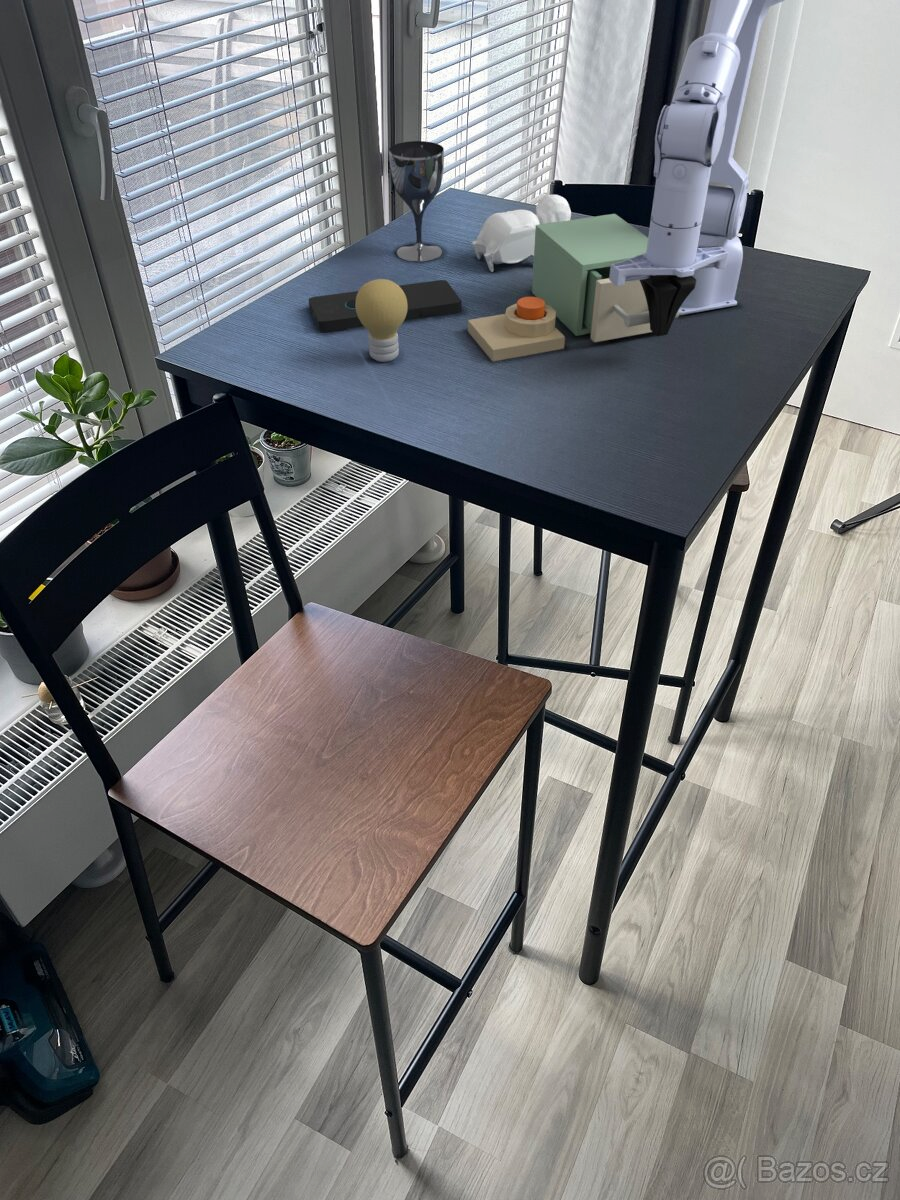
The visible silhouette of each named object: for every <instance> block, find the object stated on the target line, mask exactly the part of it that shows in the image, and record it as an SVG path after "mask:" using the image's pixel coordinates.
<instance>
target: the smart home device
mask: <svg viewBox="0 0 900 1200" xmlns="http://www.w3.org/2000/svg"><path fill="white" fill-rule="evenodd" d="M398 286H399V287H400V288H401V289H402V290H403V292H404V293H405V296H406V299H407V305H408V307H407V314H406V317H405V319H404V321H405V322H406V321H413V320H420V319H426V318H427V319H428V318H435V317H442V316H449V315H455V314H459V313H462V300H461V298H460V297H459V295H458V294H457V293H456V291H455V290H454V288H453V287H452V286H451V285H450V283H449V282H448V281H447V280H446V279H439V280H430V281H422V282H414V283H408V284H400V285H399V284H398ZM358 291H359V290H356V291H355V290H354V291H347V292H340V293H333V294H326V295H317V296H313V297H309V298H308V307H309V311H310V314H311V317H312V319H313V321H314V323H315V326H316V328H317V329H318V332H319V333H329V332H330V333H332V332H339V331H345V330H349V329H357V328H363V327H364V326H363V324H362V323H361V321H360V320H359V318H358V316H357V313H356V308H355V304H356V297H357V293H358ZM404 321H403V322H404ZM364 328H365V327H364Z"/></svg>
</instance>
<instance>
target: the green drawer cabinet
mask: <svg viewBox="0 0 900 1200" xmlns="http://www.w3.org/2000/svg"><path fill="white" fill-rule="evenodd" d="M647 243H648V236H646V235H645V234H644V233H642V232H641V231H640V230H638V229H637V228H635V227H634V226H632V225H631V224H630V223H628V222H627V221H626V220H624V219H623V218H622V217H621V216H619V215H618V214H616V213H611V214H610V213H609V214H603V215H597V216H589V217H582V218H577V219H576V218H575V219H570V220H568V221H561V222H554V223H547V224H540V225H536V229H535V246H534V257H533V266H532V283H531V287H532V288H531V293H532V294H533V295H534V297H537V298H541V299H542V300H544V301H545V305H548V306H550V307H552V308H553V309H554V310H555V311H556V319H558V320H559V321H560V322H561V324H563V325H564V326H565V327H566V328H567V329H568V330H569V331H571V333H572V334H573V335H575V336H576V337H577V336H583V335H588V334H589V335H590V334H591V331H590V330H589V329H588V328H587V327H586V326H585V325H584V324H583V323H582V322H583V312H584V301H585V291H586V280H587V270H592V269H598V268H604V267H611V264H613V263H618V262H622V261H625V260H627V259H630V258H632V257H635V256H638V255H640V254H643V253H645V252H646V250H647Z"/></svg>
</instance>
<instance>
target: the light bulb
mask: <svg viewBox="0 0 900 1200" xmlns="http://www.w3.org/2000/svg"><path fill="white" fill-rule="evenodd" d="M357 291H358V293H357V297H356V304H355V308H356V313H357V316H358V318H359V320H360V321H361V323H362V324H363V326H364V328H365V329H366V330H367V331H368V332H369V334H368V347H369V355H370V358H372V359H373V360H375V361H377V362H380V363H381V362H382V363H387V362H391V361H393V360H395V359H396V358H397V357H398V356H399V354H400V348H399V345H400V344H399V334H398V332H397V331H398V330H399V328H401V326H402V324H403V323H404V319H405V317H406V314H407V307H408V305H407V299H406V296H405V293H404V292H403V290H402V289H401V288H400V287H399V284H397V283H396V282H395V281H392V280H391V279H386V278H376V279H373V280H370V281H368V282H366V283H364V284H363V285H362V286H360V288H359V289H358V290H357Z"/></svg>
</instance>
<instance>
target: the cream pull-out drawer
mask: <svg viewBox="0 0 900 1200" xmlns="http://www.w3.org/2000/svg"><path fill="white" fill-rule="evenodd" d="M610 268H611V267H604V268H598V269H592V270H587V280H586V291H585V301H584V312H583V322H582V323H583V324H584V325H585V326H586V327H587V328H588V329H589V330H590V331H591V333H590V340H591V341H592V342H593V343H600V342H604V341H609V340H615V339H620V338H625V337H632V336H637V335H643V334H648V333H653V332H652V331H651V330H650V319H649V310H648V305H647V300H646V297H645V293H644V290H643V288H642V285H641V283H640V280H636V281H630V282H625V284H624V285H622V286H616V285H615V284H613V283H612V282H611V281H610V280H609V277H610ZM679 317H680V315H679V310H678V312H677V314H676V316H675V318H674V320H675V319H679Z"/></svg>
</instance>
